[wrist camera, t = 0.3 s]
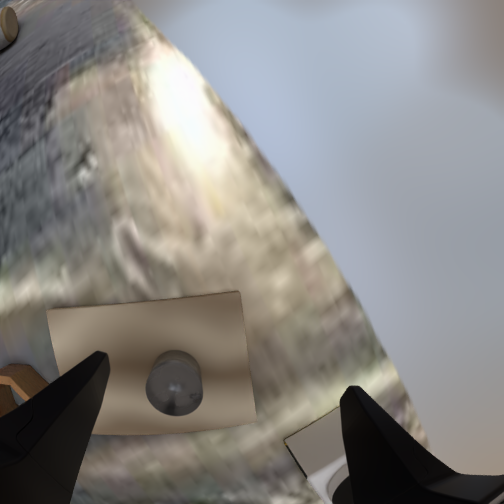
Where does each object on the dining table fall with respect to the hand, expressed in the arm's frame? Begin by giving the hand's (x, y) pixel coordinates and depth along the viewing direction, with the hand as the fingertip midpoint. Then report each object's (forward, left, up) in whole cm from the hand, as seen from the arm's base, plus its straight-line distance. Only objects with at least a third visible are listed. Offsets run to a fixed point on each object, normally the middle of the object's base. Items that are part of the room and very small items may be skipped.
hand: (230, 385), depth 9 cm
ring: (-7, +20, -14) cm, 26 cm away
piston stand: (-4, +6, -14) cm, 16 cm away
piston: (-4, +3, -13) cm, 14 cm away
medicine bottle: (-16, -10, -15) cm, 24 cm away
